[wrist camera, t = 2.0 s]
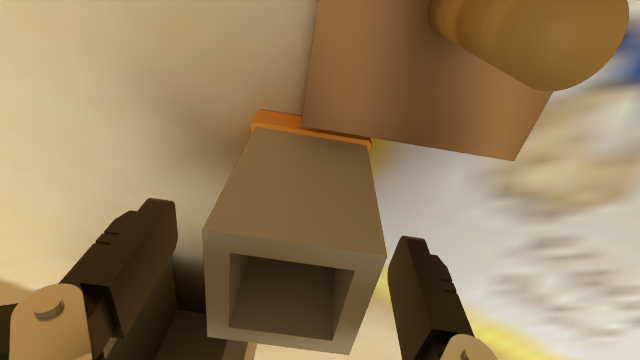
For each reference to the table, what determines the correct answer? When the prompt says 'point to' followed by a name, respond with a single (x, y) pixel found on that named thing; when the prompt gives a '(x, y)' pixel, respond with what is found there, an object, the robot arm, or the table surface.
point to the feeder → (173, 332)
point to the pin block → (453, 67)
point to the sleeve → (294, 239)
